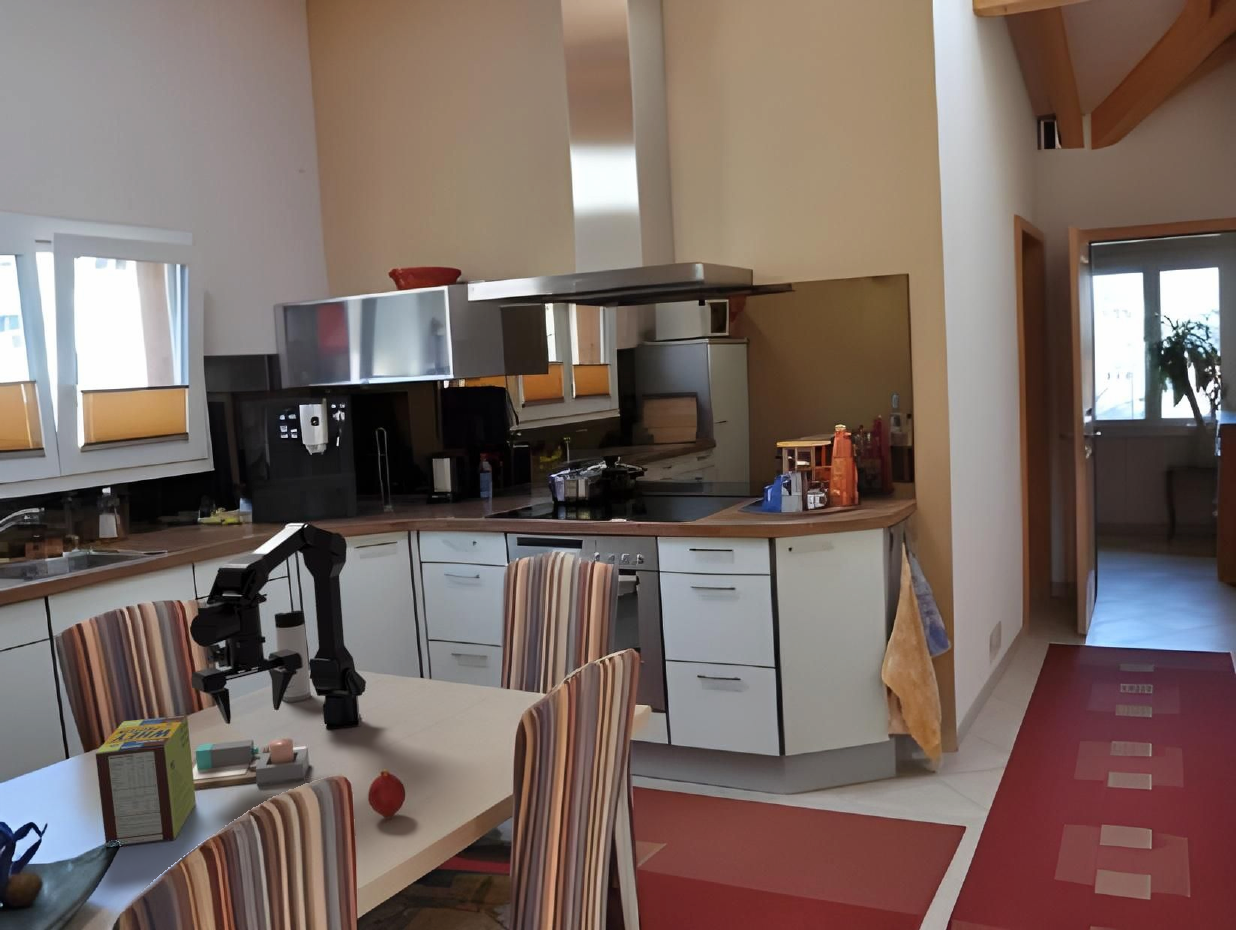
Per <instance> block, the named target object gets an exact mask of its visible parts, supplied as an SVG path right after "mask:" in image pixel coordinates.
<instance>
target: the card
mask: <svg viewBox="0 0 1236 930" xmlns="http://www.w3.org/2000/svg"><path fill="white" fill-rule="evenodd" d="M298 749H307V745H305V746H296V747H295V746H293V750H298Z"/></svg>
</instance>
